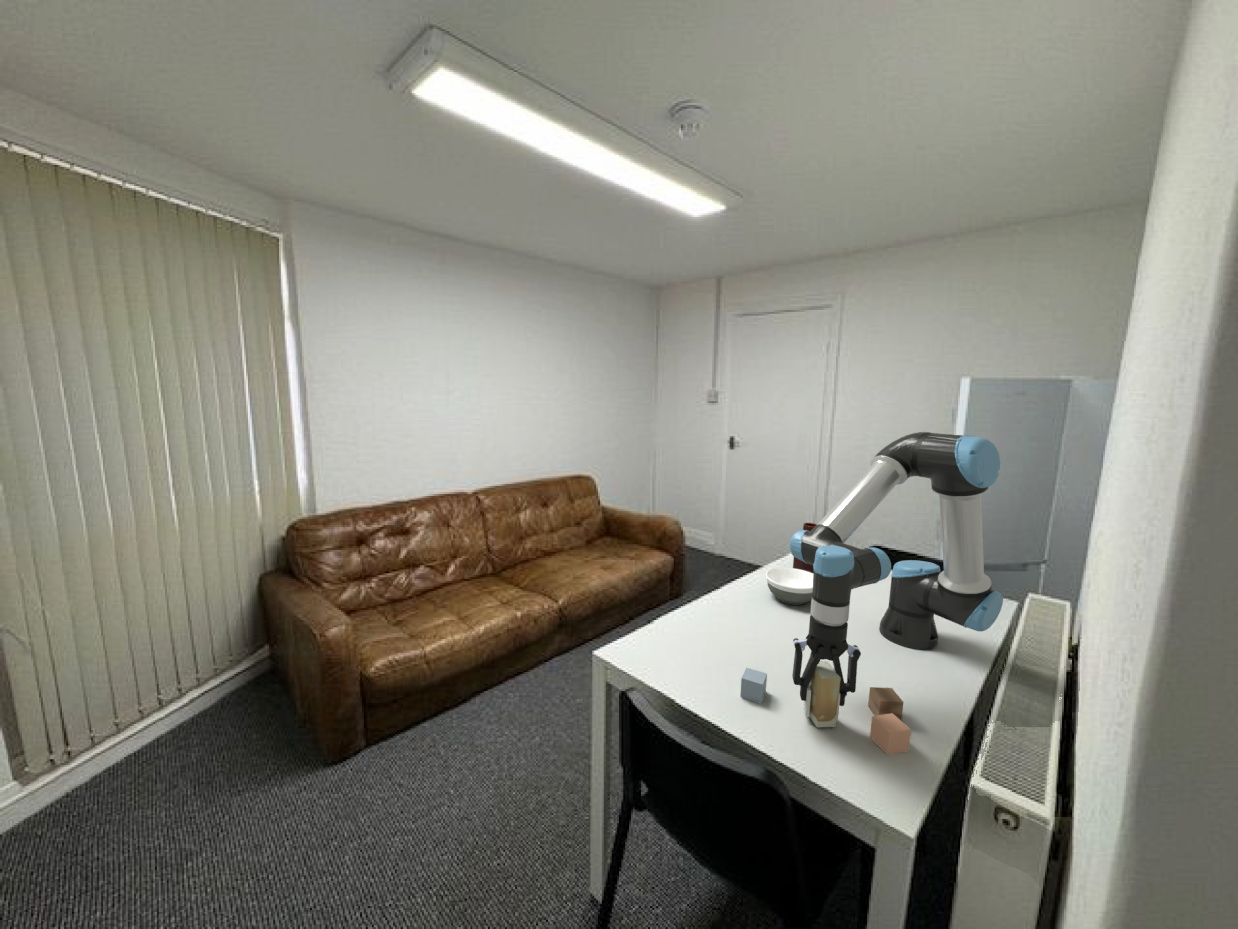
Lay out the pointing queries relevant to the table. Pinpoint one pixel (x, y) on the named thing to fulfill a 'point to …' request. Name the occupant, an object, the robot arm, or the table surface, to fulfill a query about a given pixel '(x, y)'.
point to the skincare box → (824, 695)
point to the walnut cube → (885, 702)
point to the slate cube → (753, 685)
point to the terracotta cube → (890, 733)
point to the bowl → (790, 585)
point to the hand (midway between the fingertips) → (820, 714)
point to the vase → (798, 563)
